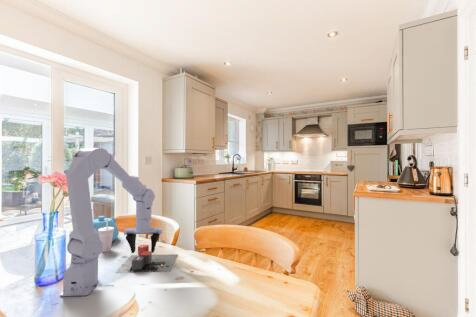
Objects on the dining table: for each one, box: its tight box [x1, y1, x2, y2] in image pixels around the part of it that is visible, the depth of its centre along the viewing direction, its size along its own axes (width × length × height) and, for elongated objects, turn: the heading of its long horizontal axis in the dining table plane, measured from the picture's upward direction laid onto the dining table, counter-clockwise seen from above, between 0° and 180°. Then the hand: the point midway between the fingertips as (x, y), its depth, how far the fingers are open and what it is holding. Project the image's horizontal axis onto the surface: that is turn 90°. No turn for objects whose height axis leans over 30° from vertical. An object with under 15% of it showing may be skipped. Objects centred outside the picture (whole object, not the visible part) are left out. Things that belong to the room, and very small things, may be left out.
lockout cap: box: [137, 244, 150, 257], centre depth 92 cm, size 4×4×4 cm
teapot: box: [93, 215, 120, 242], centre depth 113 cm, size 20×20×13 cm
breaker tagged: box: [140, 250, 153, 264], centre depth 86 cm, size 3×3×4 cm
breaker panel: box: [114, 253, 179, 274], centre depth 87 cm, size 15×19×2 cm
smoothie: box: [98, 219, 114, 253], centre depth 102 cm, size 6×6×14 cm
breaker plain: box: [132, 257, 144, 270], centre depth 82 cm, size 3×3×3 cm
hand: (143, 252), depth 92 cm, fingers open, 7 cm apart
